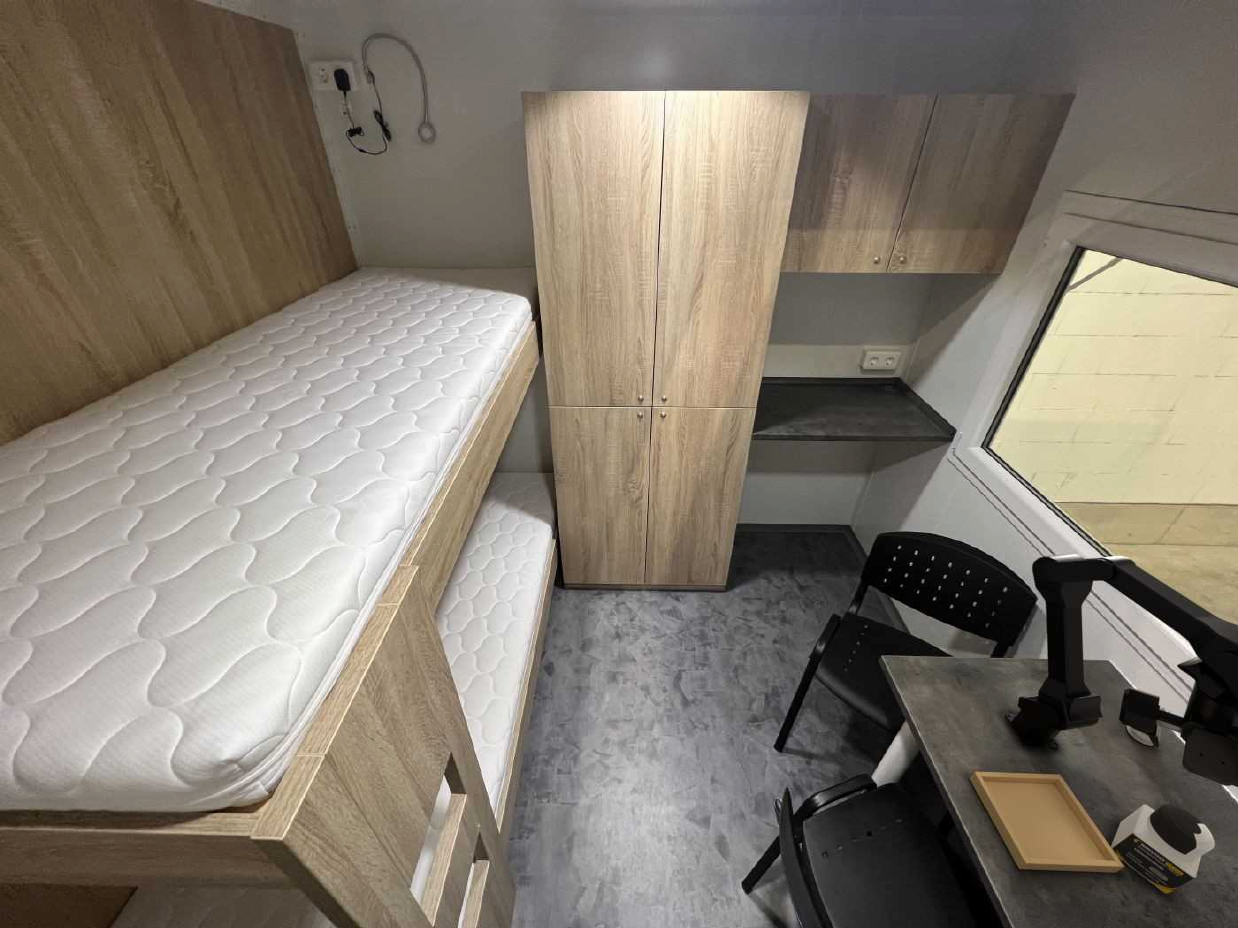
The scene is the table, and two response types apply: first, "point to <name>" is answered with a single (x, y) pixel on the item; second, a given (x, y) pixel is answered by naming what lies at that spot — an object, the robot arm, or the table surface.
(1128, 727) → the rook chess piece
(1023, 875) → the table surface
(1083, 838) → the tray
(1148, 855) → the medicine bottle
